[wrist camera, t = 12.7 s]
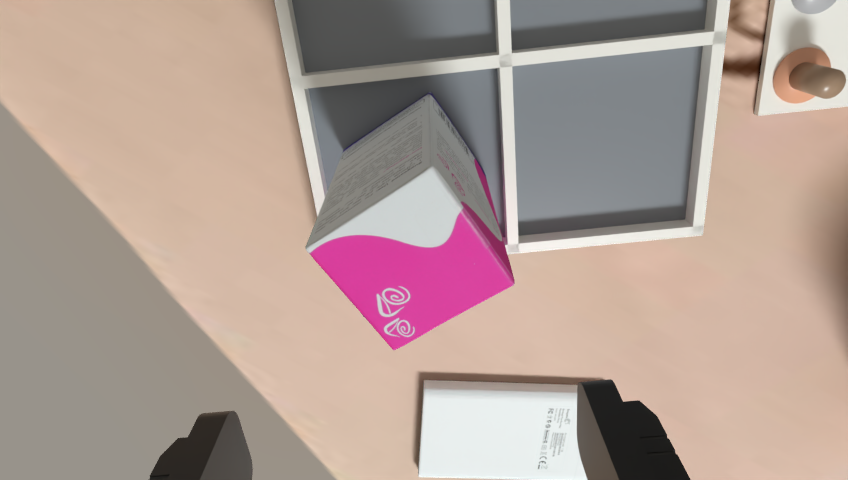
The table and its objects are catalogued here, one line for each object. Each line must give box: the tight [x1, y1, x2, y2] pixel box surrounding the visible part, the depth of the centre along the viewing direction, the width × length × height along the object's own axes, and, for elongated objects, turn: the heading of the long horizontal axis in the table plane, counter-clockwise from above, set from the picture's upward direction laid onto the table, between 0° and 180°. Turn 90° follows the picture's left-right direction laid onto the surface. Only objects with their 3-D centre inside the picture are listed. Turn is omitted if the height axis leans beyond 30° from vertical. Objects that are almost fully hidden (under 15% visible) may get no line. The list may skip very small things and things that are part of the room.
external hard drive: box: [418, 380, 587, 480], centre depth 40 cm, size 2×8×12 cm
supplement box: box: [306, 92, 514, 350], centre depth 26 cm, size 6×6×12 cm
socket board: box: [274, 0, 730, 254], centre depth 29 cm, size 21×21×2 cm
